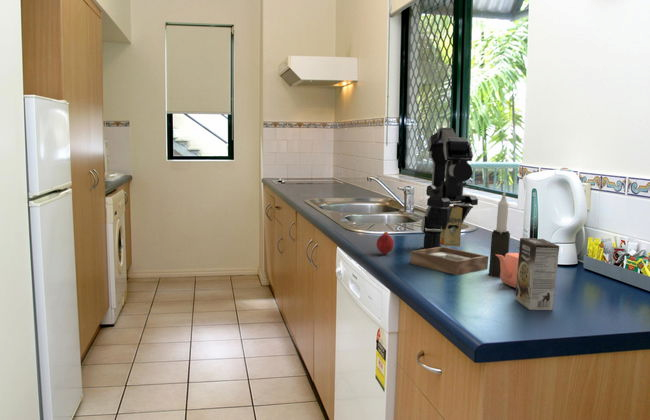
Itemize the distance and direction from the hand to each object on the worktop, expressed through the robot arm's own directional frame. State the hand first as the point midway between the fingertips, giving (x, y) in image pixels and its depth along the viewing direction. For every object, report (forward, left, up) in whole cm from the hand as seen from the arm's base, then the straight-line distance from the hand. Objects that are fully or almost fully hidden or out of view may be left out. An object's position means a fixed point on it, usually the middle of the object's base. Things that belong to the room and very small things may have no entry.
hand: (451, 228), depth 193 cm
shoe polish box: (0, 0, -6) cm, 6 cm away
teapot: (+4, +28, -12) cm, 31 cm away
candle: (-3, +16, -12) cm, 20 cm away
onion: (+5, -23, -12) cm, 27 cm away
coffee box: (+18, +40, -12) cm, 46 cm away
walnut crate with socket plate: (0, 0, -12) cm, 12 cm away
